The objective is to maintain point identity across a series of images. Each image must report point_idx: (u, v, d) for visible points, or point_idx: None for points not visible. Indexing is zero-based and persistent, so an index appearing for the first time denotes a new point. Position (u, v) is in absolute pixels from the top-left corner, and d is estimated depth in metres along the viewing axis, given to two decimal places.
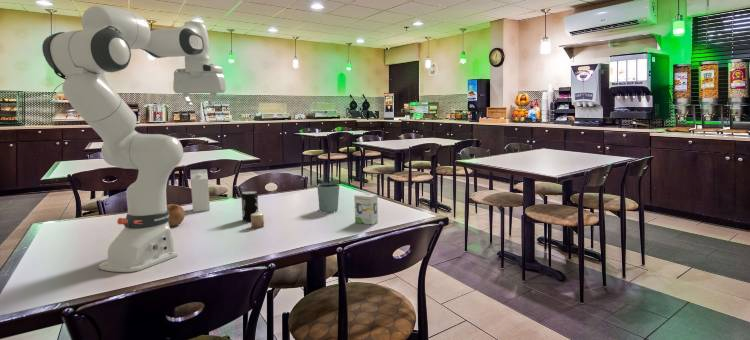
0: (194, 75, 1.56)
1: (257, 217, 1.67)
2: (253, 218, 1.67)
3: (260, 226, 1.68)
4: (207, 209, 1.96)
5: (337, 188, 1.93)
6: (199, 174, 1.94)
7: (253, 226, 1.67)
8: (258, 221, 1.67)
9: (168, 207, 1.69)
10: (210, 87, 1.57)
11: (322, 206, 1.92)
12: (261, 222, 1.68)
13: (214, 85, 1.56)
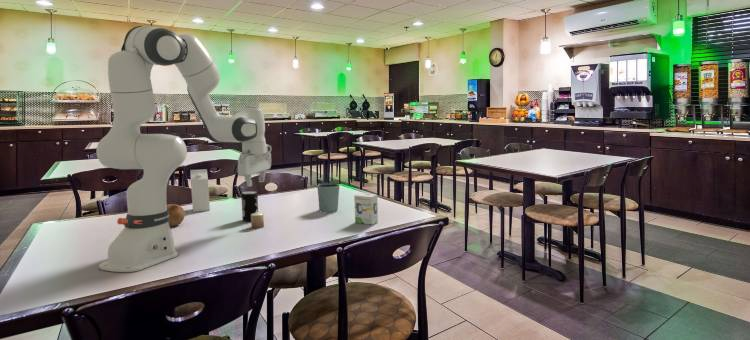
0: (262, 156, 1.65)
1: (257, 217, 1.67)
2: (253, 218, 1.67)
3: (260, 226, 1.68)
4: (207, 209, 1.96)
5: (337, 188, 1.93)
6: (199, 174, 1.94)
7: (253, 226, 1.67)
8: (258, 221, 1.67)
9: (168, 207, 1.69)
10: (266, 165, 1.72)
11: (322, 206, 1.92)
12: (261, 222, 1.68)
13: (268, 163, 1.73)
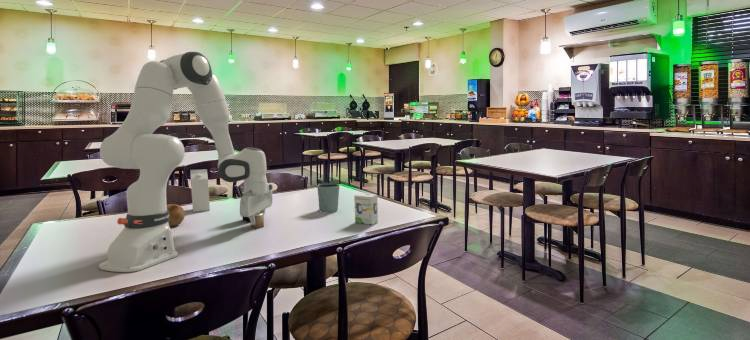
0: (263, 195, 1.68)
1: (257, 217, 1.67)
2: None
3: (260, 226, 1.68)
4: (207, 209, 1.96)
5: (337, 188, 1.93)
6: (199, 174, 1.94)
7: (253, 226, 1.67)
8: (258, 221, 1.67)
9: (168, 207, 1.69)
10: (267, 203, 1.74)
11: (322, 206, 1.92)
12: (261, 222, 1.68)
13: (269, 201, 1.75)
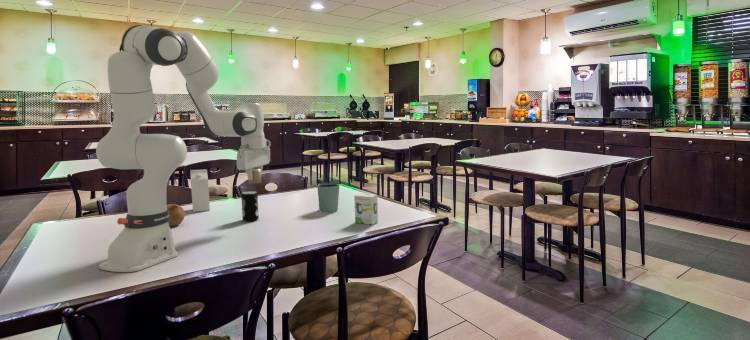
0: (261, 151, 1.67)
1: (254, 172, 1.66)
2: None
3: (257, 181, 1.67)
4: (207, 209, 1.96)
5: (337, 188, 1.93)
6: (199, 174, 1.94)
7: (250, 181, 1.67)
8: (255, 176, 1.67)
9: (168, 207, 1.69)
10: (265, 160, 1.73)
11: (322, 206, 1.92)
12: (258, 177, 1.67)
13: (267, 158, 1.75)
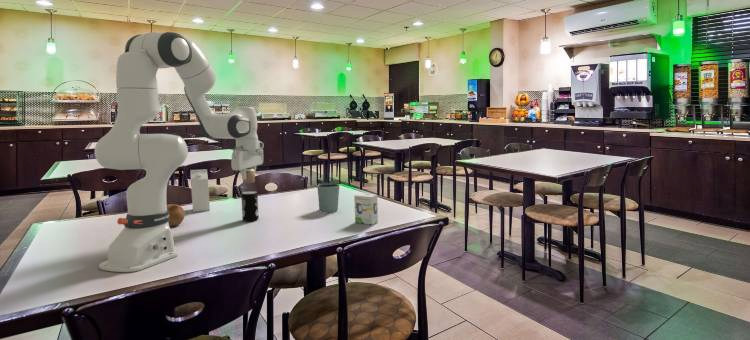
0: (254, 152, 1.76)
1: (248, 172, 1.75)
2: None
3: (251, 181, 1.76)
4: (207, 209, 1.96)
5: (337, 188, 1.93)
6: (199, 174, 1.94)
7: (244, 181, 1.76)
8: (249, 176, 1.75)
9: (168, 207, 1.69)
10: (258, 160, 1.82)
11: (322, 206, 1.92)
12: (252, 177, 1.76)
13: (260, 159, 1.84)
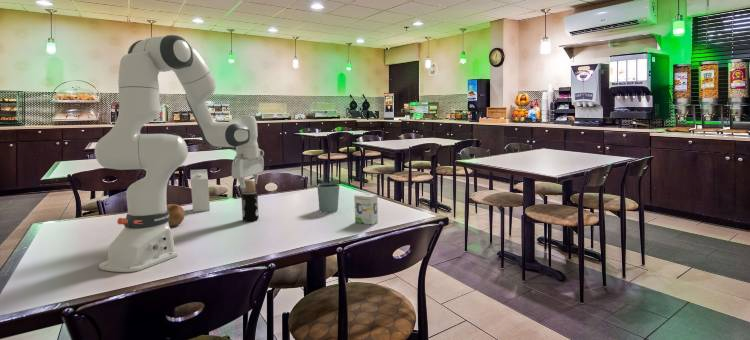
0: (255, 160, 1.76)
1: (249, 182, 1.75)
2: (245, 183, 1.76)
3: (252, 191, 1.77)
4: (207, 209, 1.96)
5: (337, 188, 1.93)
6: (199, 174, 1.94)
7: (245, 191, 1.76)
8: (250, 186, 1.76)
9: (168, 207, 1.69)
10: (259, 168, 1.82)
11: (322, 206, 1.92)
12: (252, 187, 1.77)
13: (261, 167, 1.84)
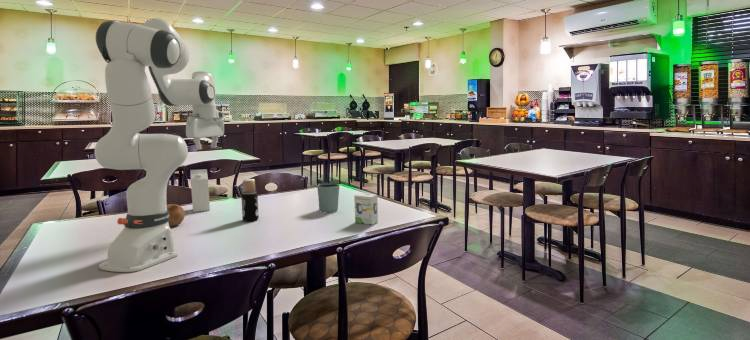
0: (212, 121, 1.70)
1: (249, 182, 1.75)
2: (245, 183, 1.76)
3: (252, 191, 1.77)
4: (207, 209, 1.96)
5: (337, 188, 1.93)
6: (199, 174, 1.94)
7: (245, 191, 1.76)
8: (250, 186, 1.76)
9: (168, 207, 1.69)
10: (218, 131, 1.76)
11: (322, 206, 1.92)
12: (252, 187, 1.77)
13: (221, 130, 1.77)
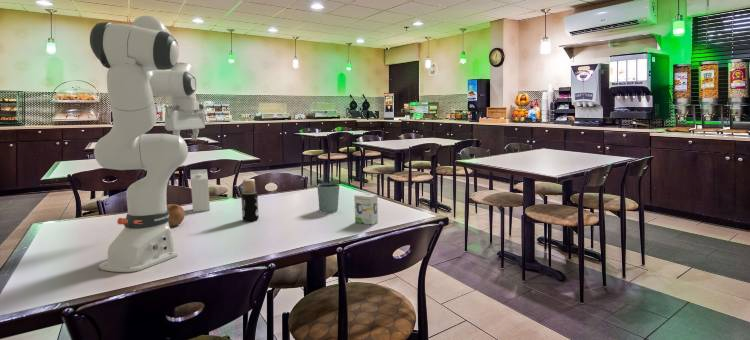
0: (192, 113, 1.67)
1: (249, 182, 1.75)
2: (245, 183, 1.76)
3: (251, 191, 1.77)
4: (207, 209, 1.96)
5: (337, 188, 1.93)
6: (199, 174, 1.94)
7: (245, 191, 1.76)
8: (250, 186, 1.76)
9: (168, 207, 1.69)
10: (199, 123, 1.73)
11: (322, 206, 1.92)
12: (252, 187, 1.77)
13: (201, 122, 1.75)
